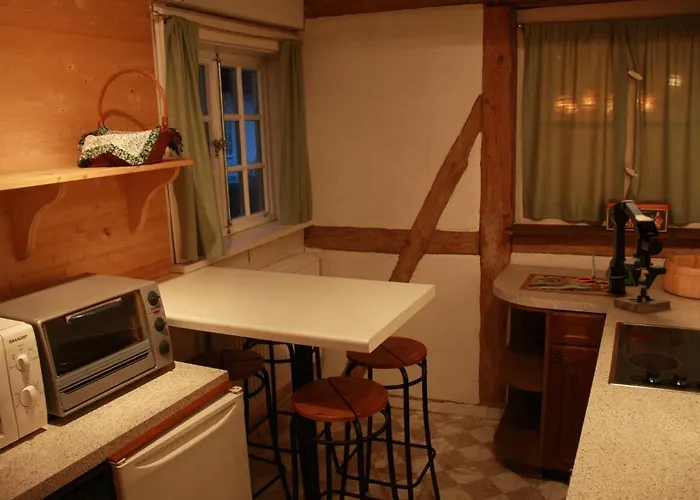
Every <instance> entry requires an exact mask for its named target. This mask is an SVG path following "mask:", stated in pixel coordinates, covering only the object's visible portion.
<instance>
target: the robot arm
mask: <svg viewBox="0 0 700 500" xmlns="http://www.w3.org/2000/svg"><path fill="white" fill-rule="evenodd" d="M608 214H609V218H610V220H611V222H612V224H613V251H612V252H613V254H612V255H613V256H612V258H611V259H610V261H609V263H608V264H609V265H608V268H607V269H606V271H605V273H604V274H605V279H607V280H608V289H606V291H605V292H607V293H611V294H614V295H620V294H627V293H628V291H627V290H626V285H625V279H628V278H629V274H630V273H631V275H632V277H633V280H634V287H636V288H639V285H638V284H637V280H638V279H639V278H640V277H642V271H643V270H644V271H646V272H647V273H643V275H644V277H646V289H647V290H648V291H649V290H650V288H651V287H652V285H653V283H654V281H656V278H657V277H658V276H661V275H667V268H666V267H665V266H661V265H654V262H652V256H657V255H660V253H662V251H663V249H664V245H663V243H662V242H661V241H659V238H660V236H659V234H660V232H659V229H658V227H657V224H656V222H655V221H654V220H653V219H652V218H651V217H649V216H646V215H645V214H643V212H642V211H641V210H640V209H639V208H638V207H637V205H636V203H635V201H634V200H631V199H629V200H622V201H619V202H618V203H615V204H612V205H611V206H610V207H609V208H608ZM629 219H630V220H631V222H632V223H633V224H632V229H633V231H634V233H635V236H634V237H635V239H636V241H635V242H636V244H635V245H636V246H635V252H633V254H632V257H631V258H628V259H627V258H626V227H627V223H628V222H629Z"/></svg>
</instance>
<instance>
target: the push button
mask: <svg viewBox="0 0 700 500" xmlns="http://www.w3.org/2000/svg"><path fill="white" fill-rule="evenodd" d="M637 284H638V285H639V286H638V293H637V294H636V295H637V298H633V299H637V300H633V301H637V302H650V296H651V295H650V293H649V289H648V290H647V289H646V276H643V277H642V276H641V277H640V278H639V279H638V280H637Z"/></svg>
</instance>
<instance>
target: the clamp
mask: <svg viewBox="0 0 700 500" xmlns="http://www.w3.org/2000/svg"><path fill="white" fill-rule="evenodd" d="M630 284H634V285H635V283H634V280H633V277H632V275H631V273H630V274H629V278H628V279H625V286H629V285H630Z"/></svg>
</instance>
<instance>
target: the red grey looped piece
mask: <svg viewBox="0 0 700 500" xmlns="http://www.w3.org/2000/svg"><path fill="white" fill-rule="evenodd" d="M591 259H592V260H591V265H592V269H591V277H588V276H586V277H584V276H583V277H578V278H579V279H580V278H587V279H582V280H579V279H578V281H583V282H582V283H589V282H588V281H596V282H597V276H596V275H597V274H596V262H595V261H596V259H595V254H592V258H591ZM588 279H590V280H588Z"/></svg>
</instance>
